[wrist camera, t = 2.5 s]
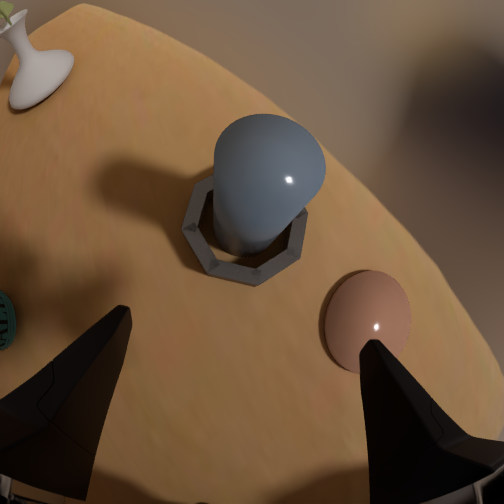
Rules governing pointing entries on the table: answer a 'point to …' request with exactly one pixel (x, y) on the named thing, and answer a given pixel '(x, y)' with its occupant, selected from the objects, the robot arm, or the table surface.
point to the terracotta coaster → (366, 317)
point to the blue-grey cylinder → (262, 180)
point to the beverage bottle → (6, 321)
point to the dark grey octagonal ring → (230, 270)
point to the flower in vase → (32, 63)
